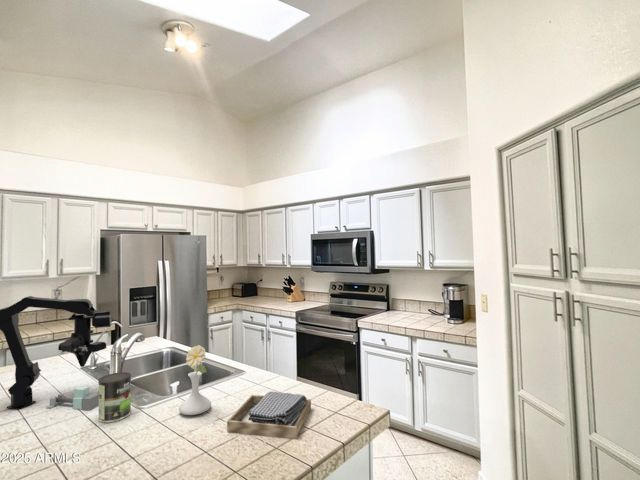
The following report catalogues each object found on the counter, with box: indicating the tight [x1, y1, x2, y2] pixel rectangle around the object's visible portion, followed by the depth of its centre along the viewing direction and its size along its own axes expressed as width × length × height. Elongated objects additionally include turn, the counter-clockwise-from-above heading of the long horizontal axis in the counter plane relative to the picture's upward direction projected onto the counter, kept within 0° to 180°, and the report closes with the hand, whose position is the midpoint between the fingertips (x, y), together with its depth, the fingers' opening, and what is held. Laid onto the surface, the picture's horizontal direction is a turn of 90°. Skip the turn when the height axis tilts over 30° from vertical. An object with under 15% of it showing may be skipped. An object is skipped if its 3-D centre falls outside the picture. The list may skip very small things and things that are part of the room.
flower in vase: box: [178, 344, 212, 416], centre depth 127 cm, size 13×11×25 cm
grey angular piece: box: [45, 393, 99, 411], centre depth 132 cm, size 18×7×4 cm, turn 78°
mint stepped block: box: [72, 386, 91, 411], centre depth 132 cm, size 4×4×7 cm
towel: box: [248, 391, 308, 426], centre depth 119 cm, size 15×18×8 cm
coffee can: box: [97, 371, 132, 424], centre depth 124 cm, size 10×10×14 cm
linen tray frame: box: [226, 394, 312, 440], centre depth 119 cm, size 24×21×4 cm
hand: (82, 366), depth 143 cm, fingers closed
